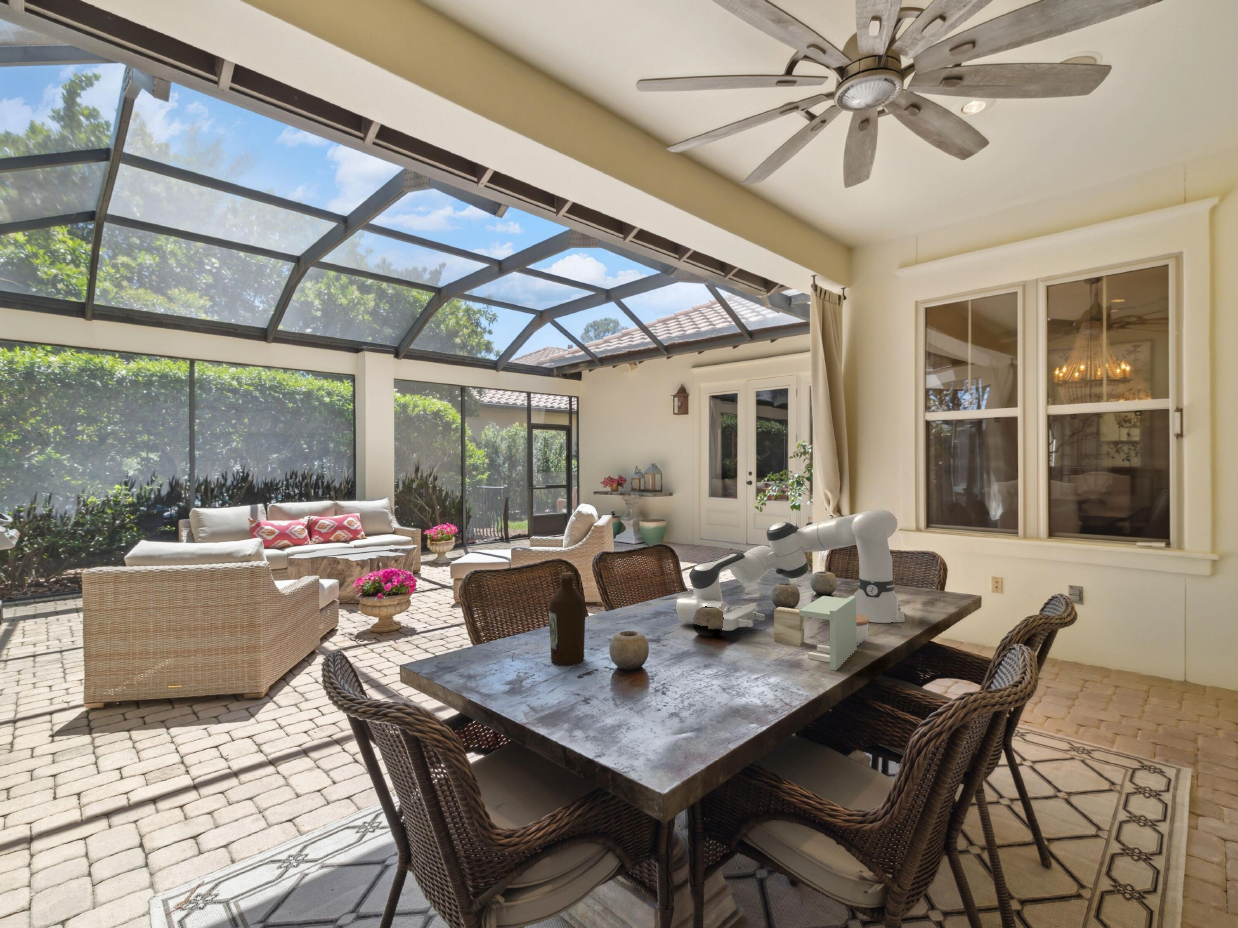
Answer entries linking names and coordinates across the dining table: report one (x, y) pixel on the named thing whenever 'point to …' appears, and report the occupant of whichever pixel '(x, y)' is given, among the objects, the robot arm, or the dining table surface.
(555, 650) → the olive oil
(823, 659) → the hutch
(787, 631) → the birch box
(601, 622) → the dining table surface
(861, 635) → the lidded jar
